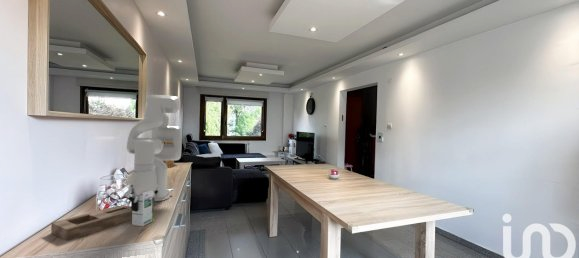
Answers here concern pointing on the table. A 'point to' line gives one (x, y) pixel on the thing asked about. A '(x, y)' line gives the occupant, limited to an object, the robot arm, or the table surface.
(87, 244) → the table surface
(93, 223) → the socket block
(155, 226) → the table surface
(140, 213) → the syrup box
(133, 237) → the table surface
